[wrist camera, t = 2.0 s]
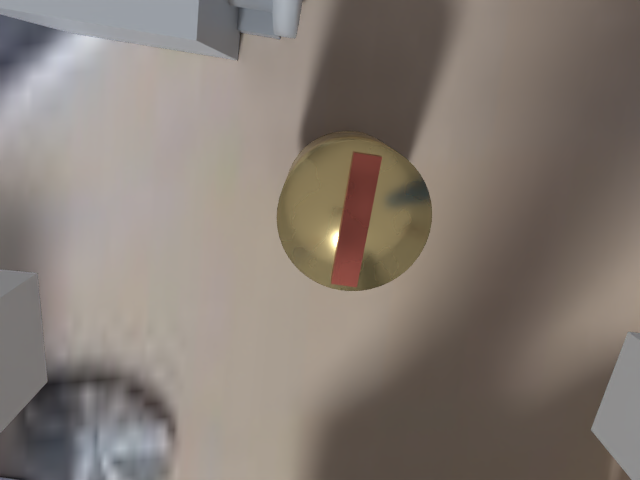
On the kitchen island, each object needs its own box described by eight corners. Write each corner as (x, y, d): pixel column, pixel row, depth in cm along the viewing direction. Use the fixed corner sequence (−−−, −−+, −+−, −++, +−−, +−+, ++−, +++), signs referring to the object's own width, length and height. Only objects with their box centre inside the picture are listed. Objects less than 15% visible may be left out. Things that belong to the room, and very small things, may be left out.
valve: (296, 119, 27) (286, 129, 18) (409, 137, 27) (452, 155, 19) (281, 229, 29) (266, 285, 20) (386, 244, 29) (416, 305, 21)
